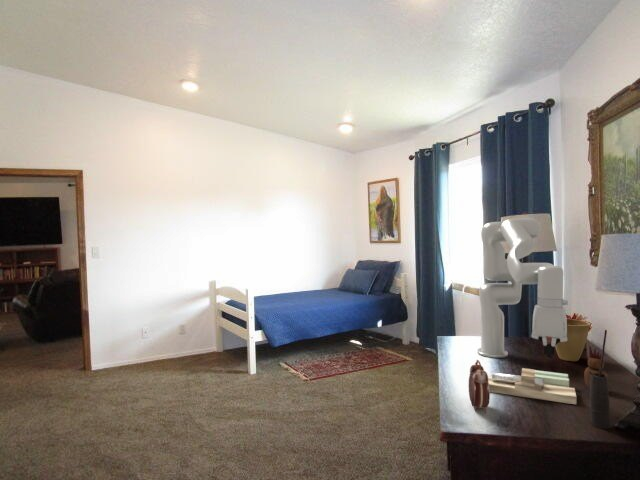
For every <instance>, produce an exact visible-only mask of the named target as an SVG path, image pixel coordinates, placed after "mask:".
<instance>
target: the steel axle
mask: <svg viewBox="0 0 640 480" xmlns="http://www.w3.org/2000/svg"><path fill="white" fill-rule="evenodd" d="M491 377H492V381H497V382H504V383H511V384H515V381H516V382H521V375H518V374H509V373H504V372H503V373H502V372H494V371H493V372H492V375H491ZM535 384H538V385H541V388H543V379H541V378H535Z"/></svg>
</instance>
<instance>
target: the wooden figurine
mask: <svg viewBox="0 0 640 480" xmlns="http://www.w3.org/2000/svg"><path fill="white" fill-rule="evenodd" d="M588 350H589V351H588V355H589V356H588V357H589V358H588V359H587V365H588V366H587V367H586V368H585V370H584V373H583V374H584V375H583V376H584V378H583V379H584V383H585V384H586V386H587V388H588V389H589V390H590V374H589V373H588V372H589V371H591V372H592V373H595V374H596V373H599V371H600V363H601V357H602V353H600V352H599V351H597V349H596V348H595V347H594V348H593V350H592V347H591V345H589V349H588ZM604 367H605V362H604V360H603V365H602V373H601V374H605V375H607V379H609V378H608V374H607V372H606V371H605V370H604Z"/></svg>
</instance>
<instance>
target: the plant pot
mask: <svg viewBox="0 0 640 480" xmlns="http://www.w3.org/2000/svg"><path fill="white" fill-rule="evenodd" d="M566 319H567V335H566V336H567V341H564V342H559V343H558V344H556V345H555V346H554V349H555V351H556V354H557V356H558V358H559V359H560V360H563V361H568V362H578V361H579V360H580V358H581V356H582V354H583V351H584V350H585V349H584V348H585V345H586V342H587V339H588V336H589V335H588V334H589V328H590V325H591V324H590V322H587V321H584V320H582V319H581V320H578V319H575V318H574V319H572V318H566Z"/></svg>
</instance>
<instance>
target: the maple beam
mask: <svg viewBox="0 0 640 480" xmlns="http://www.w3.org/2000/svg"><path fill="white" fill-rule="evenodd" d="M535 370H536V369H532V368H527V367H525V368H524V367H522V368H521V375H520V376H521V382H516V381H515V384H511V383H504V382H497V381H492V376H489V375H488V382H489V390H490V392H491V393H496V394H504V395H511V396H517V397H523V398H530V399H537V400H544V401H551V402H557V403H563V404H570V405H577V394H576V393H577V392H576V389H575V387H570V386H569V387H563V386H556V385H549V384H543V388H541V385H538V384H535Z"/></svg>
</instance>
